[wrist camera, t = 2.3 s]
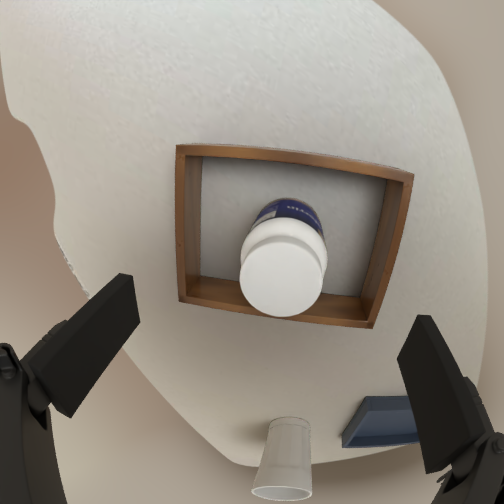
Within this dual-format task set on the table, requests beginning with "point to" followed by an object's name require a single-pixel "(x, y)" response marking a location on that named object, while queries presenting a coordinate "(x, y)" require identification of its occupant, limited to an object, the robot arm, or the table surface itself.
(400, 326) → the table surface
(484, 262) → the table surface
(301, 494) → the cup
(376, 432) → the tray
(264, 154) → the wooden frame
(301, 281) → the pill bottle
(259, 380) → the table surface
